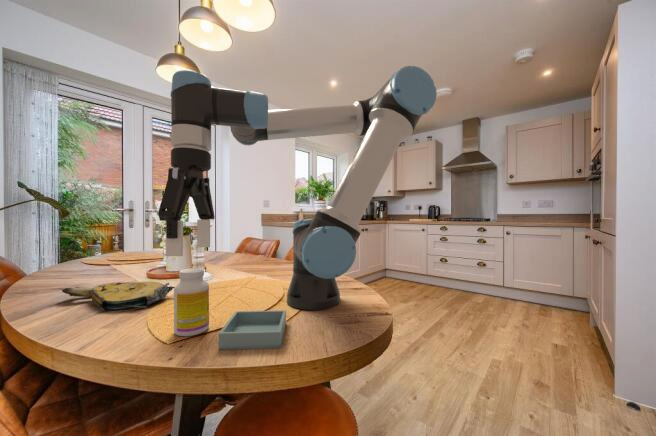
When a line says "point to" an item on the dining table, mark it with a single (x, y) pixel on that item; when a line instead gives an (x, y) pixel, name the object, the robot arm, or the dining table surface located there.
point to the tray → (253, 330)
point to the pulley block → (122, 294)
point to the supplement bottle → (191, 303)
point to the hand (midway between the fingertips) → (190, 251)
